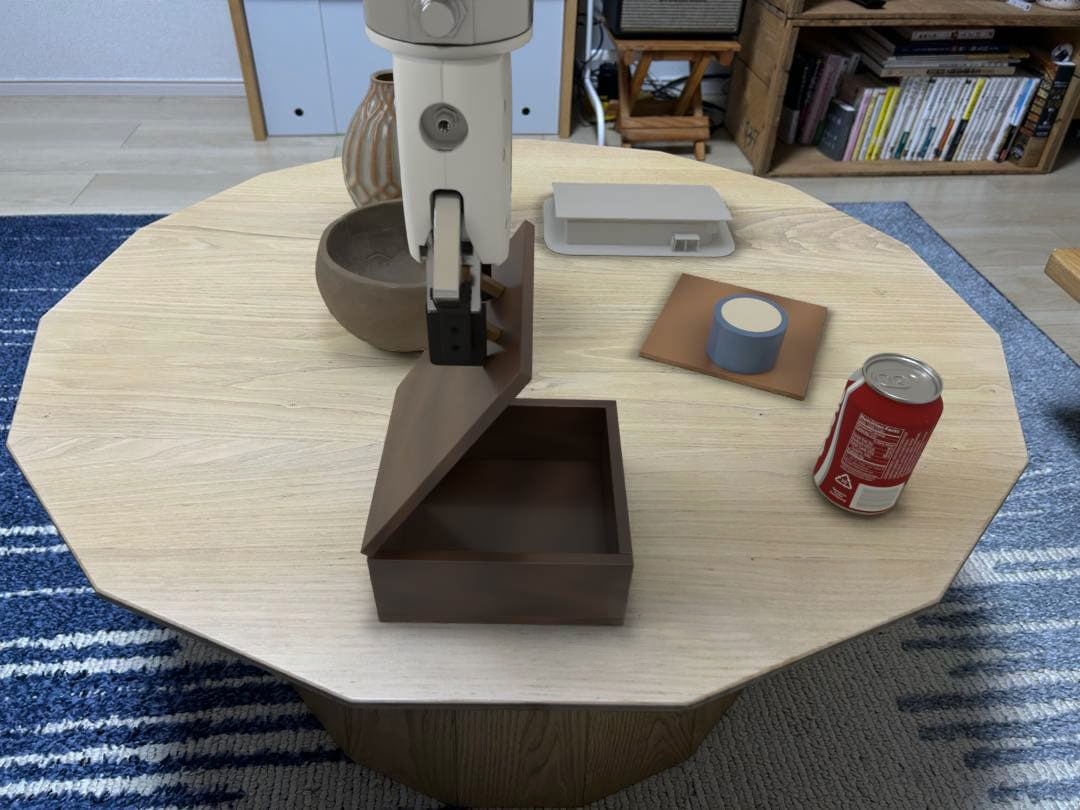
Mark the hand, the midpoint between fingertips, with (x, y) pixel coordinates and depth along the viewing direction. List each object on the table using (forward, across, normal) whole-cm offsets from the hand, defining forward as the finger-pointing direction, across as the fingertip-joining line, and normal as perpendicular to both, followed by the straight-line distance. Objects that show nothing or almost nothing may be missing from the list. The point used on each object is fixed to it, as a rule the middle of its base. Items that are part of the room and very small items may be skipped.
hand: (462, 326), depth 46 cm
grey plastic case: (+20, +49, -18) cm, 56 cm away
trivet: (+19, +26, -26) cm, 41 cm away
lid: (+5, 0, +1) cm, 5 cm away
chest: (+19, 0, -3) cm, 19 cm away
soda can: (+19, +5, -31) cm, 37 cm away
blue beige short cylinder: (+19, +22, -25) cm, 38 cm away
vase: (+20, +48, +11) cm, 53 cm away
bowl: (+20, +27, +7) cm, 34 cm away
